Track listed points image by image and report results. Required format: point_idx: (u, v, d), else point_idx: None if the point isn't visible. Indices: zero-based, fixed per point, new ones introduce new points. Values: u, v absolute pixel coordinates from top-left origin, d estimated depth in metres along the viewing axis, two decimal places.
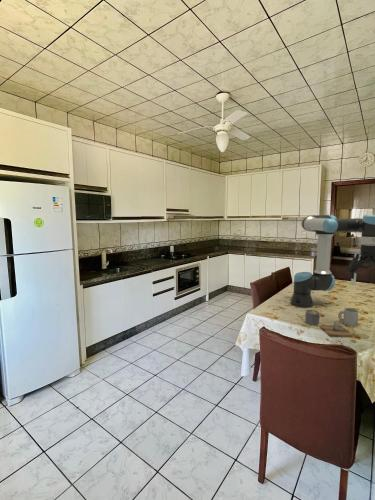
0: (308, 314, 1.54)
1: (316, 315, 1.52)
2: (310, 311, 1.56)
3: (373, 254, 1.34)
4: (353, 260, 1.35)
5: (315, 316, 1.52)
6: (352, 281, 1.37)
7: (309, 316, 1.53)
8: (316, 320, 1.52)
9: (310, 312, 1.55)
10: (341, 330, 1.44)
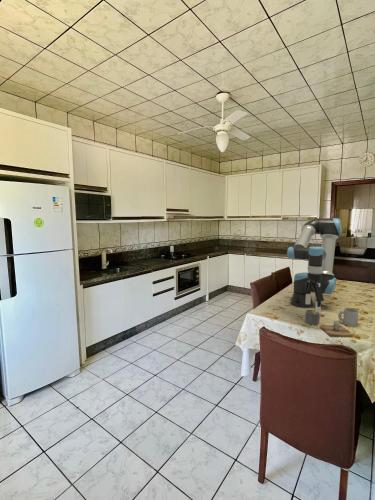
0: (308, 314, 1.54)
1: (316, 315, 1.52)
2: (310, 311, 1.56)
3: (313, 281, 1.51)
4: None
5: (315, 316, 1.52)
6: None
7: (309, 316, 1.53)
8: (316, 320, 1.52)
9: (310, 312, 1.55)
10: (341, 330, 1.44)
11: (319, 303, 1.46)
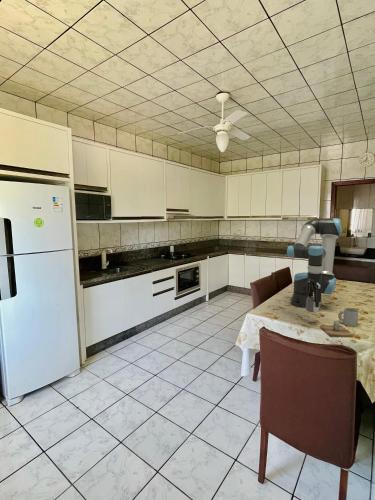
0: (309, 301, 1.53)
1: None
2: (311, 298, 1.56)
3: (313, 280, 1.51)
4: None
5: None
6: None
7: (310, 303, 1.53)
8: None
9: (311, 299, 1.54)
10: (341, 330, 1.44)
11: (317, 304, 1.50)
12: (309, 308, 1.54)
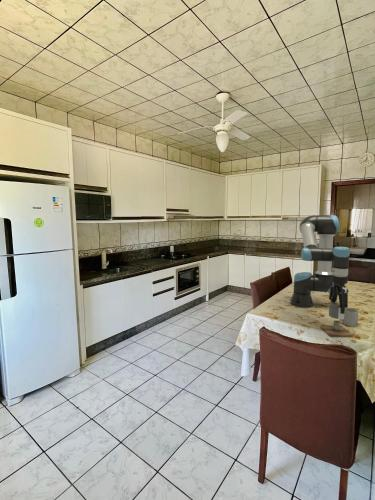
0: (333, 306, 1.40)
1: None
2: (335, 303, 1.43)
3: (339, 284, 1.39)
4: None
5: None
6: None
7: (334, 309, 1.40)
8: None
9: (335, 304, 1.41)
10: (341, 330, 1.44)
11: (343, 310, 1.37)
12: (333, 314, 1.41)
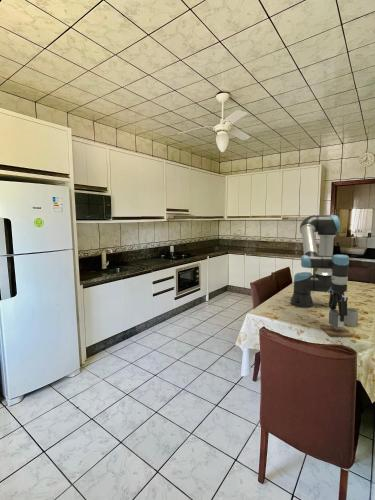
0: (333, 314, 1.41)
1: None
2: (334, 311, 1.43)
3: (338, 292, 1.39)
4: None
5: None
6: None
7: (334, 316, 1.40)
8: None
9: (335, 312, 1.42)
10: (341, 330, 1.44)
11: (342, 318, 1.37)
12: (333, 322, 1.41)
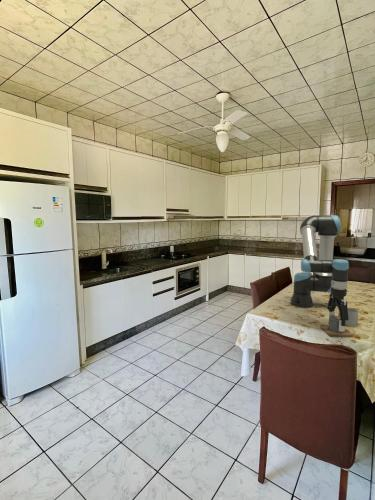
0: (332, 320, 1.41)
1: None
2: (334, 317, 1.44)
3: (338, 297, 1.40)
4: None
5: None
6: None
7: (333, 322, 1.41)
8: None
9: (334, 318, 1.42)
10: None
11: (343, 322, 1.36)
12: (332, 328, 1.42)
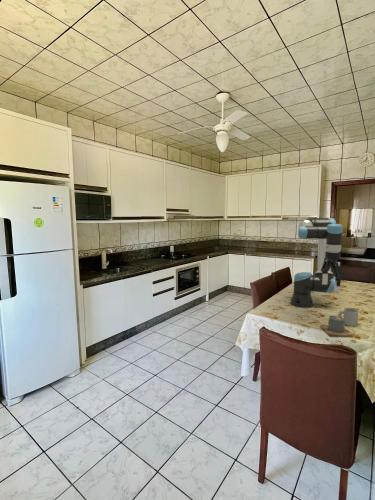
0: (332, 320, 1.41)
1: (341, 321, 1.40)
2: (334, 317, 1.44)
3: (332, 260, 1.45)
4: None
5: (340, 322, 1.40)
6: None
7: (333, 322, 1.41)
8: (341, 327, 1.40)
9: (334, 318, 1.42)
10: None
11: (339, 282, 1.41)
12: (332, 328, 1.42)
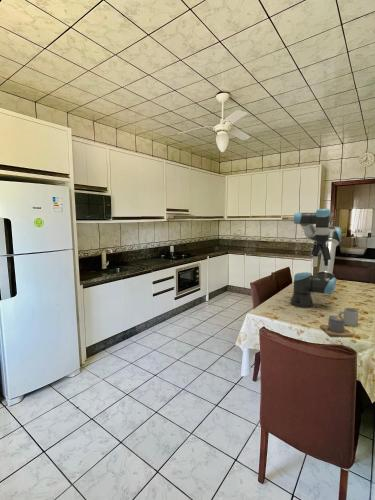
0: (332, 320, 1.41)
1: (341, 321, 1.40)
2: (334, 317, 1.44)
3: (320, 242, 1.57)
4: None
5: (340, 322, 1.40)
6: None
7: (333, 322, 1.41)
8: (341, 327, 1.40)
9: (334, 318, 1.42)
10: None
11: (326, 262, 1.52)
12: (332, 328, 1.42)
